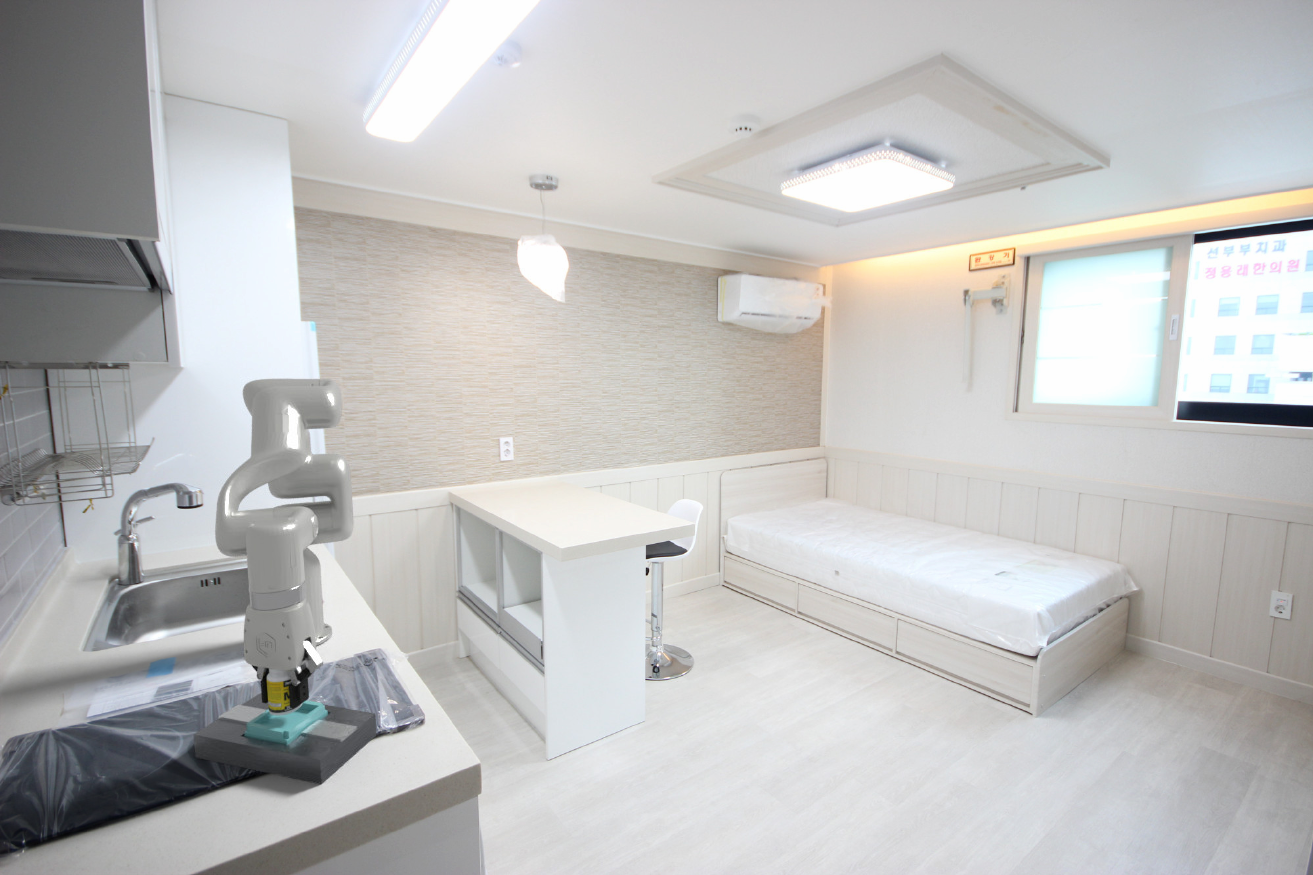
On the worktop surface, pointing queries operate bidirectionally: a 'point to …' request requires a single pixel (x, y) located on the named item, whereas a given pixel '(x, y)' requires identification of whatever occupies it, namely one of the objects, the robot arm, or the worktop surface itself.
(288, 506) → the robot arm
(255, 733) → the tray
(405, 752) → the worktop surface
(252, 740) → the block
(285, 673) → the supplement bottle
